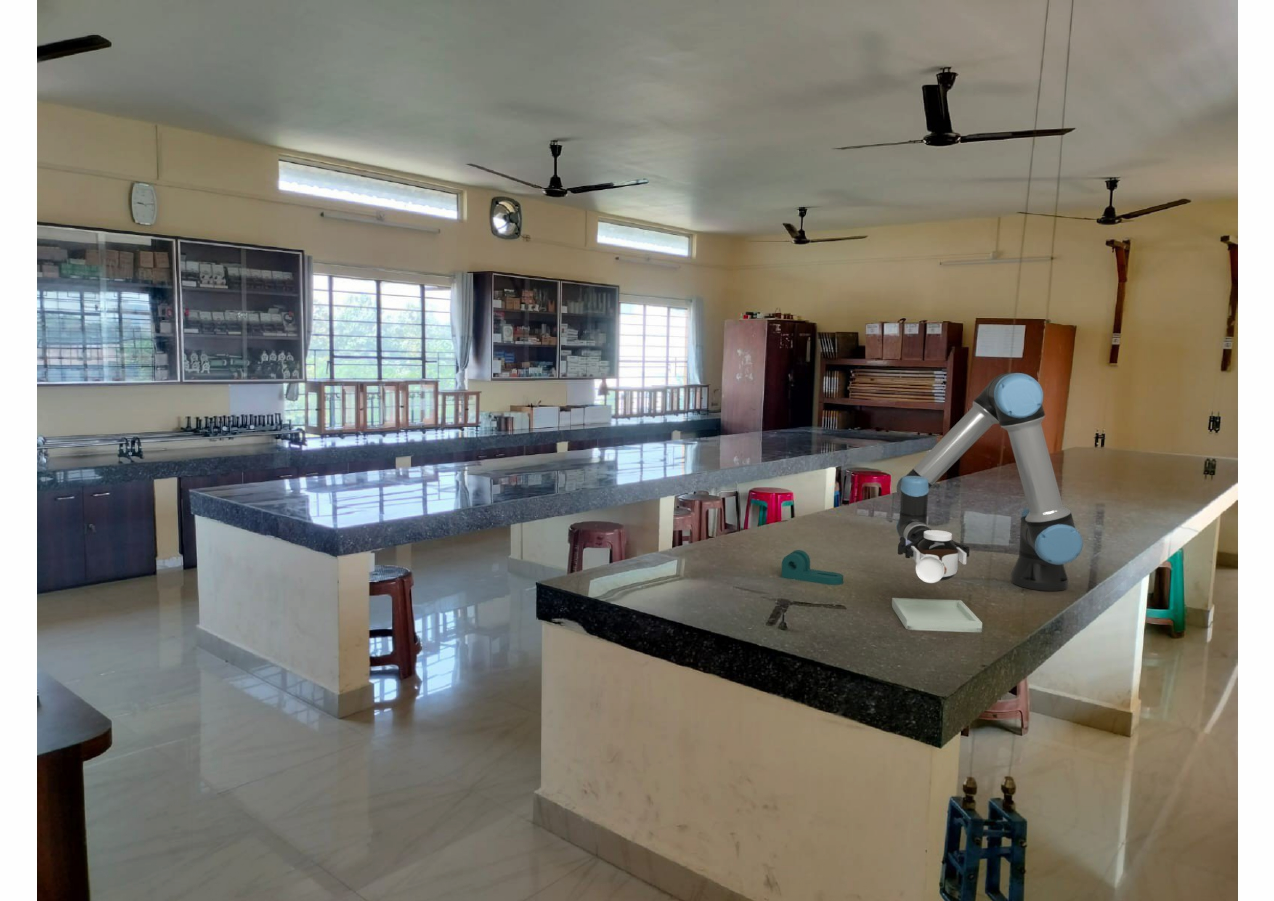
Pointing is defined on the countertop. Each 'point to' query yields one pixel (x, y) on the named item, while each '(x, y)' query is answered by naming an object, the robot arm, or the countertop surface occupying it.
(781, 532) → the countertop surface
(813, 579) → the bracket
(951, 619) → the tray
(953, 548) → the spread jar
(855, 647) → the countertop surface
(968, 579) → the countertop surface
